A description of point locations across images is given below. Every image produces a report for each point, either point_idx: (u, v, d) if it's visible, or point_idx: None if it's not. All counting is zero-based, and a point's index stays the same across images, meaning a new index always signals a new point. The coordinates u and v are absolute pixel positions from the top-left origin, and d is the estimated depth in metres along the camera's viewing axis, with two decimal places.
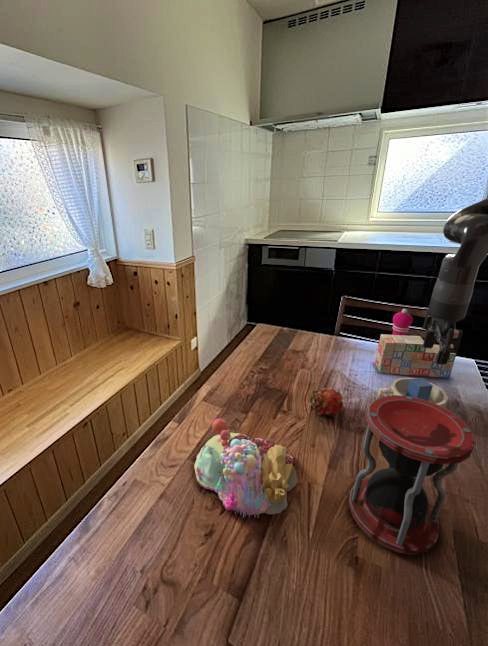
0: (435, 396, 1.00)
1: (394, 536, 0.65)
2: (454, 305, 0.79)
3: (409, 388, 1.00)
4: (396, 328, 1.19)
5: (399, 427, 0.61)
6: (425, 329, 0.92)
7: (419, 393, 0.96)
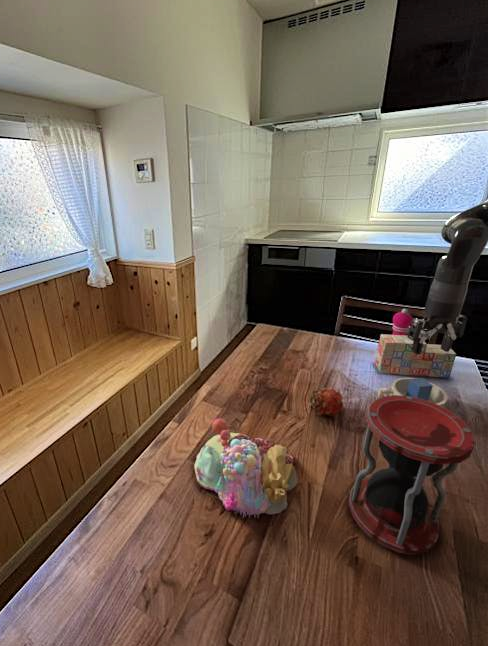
0: (435, 396, 1.00)
1: (394, 536, 0.65)
2: (430, 299, 0.87)
3: (409, 388, 1.00)
4: (396, 328, 1.19)
5: (399, 427, 0.61)
6: None
7: (419, 393, 0.96)
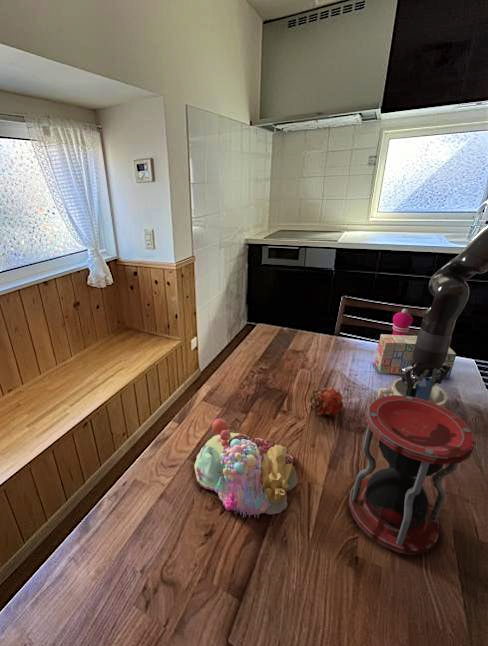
0: (435, 396, 1.00)
1: (394, 536, 0.65)
2: (417, 347, 0.93)
3: None
4: (396, 328, 1.19)
5: (399, 427, 0.61)
6: None
7: (419, 393, 0.96)
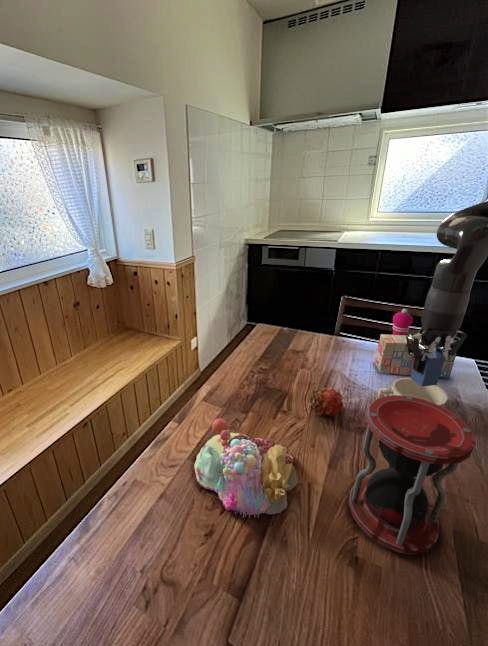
0: (435, 396, 1.00)
1: (394, 536, 0.65)
2: (427, 309, 0.76)
3: None
4: (396, 328, 1.19)
5: (399, 427, 0.61)
6: None
7: (428, 366, 0.80)
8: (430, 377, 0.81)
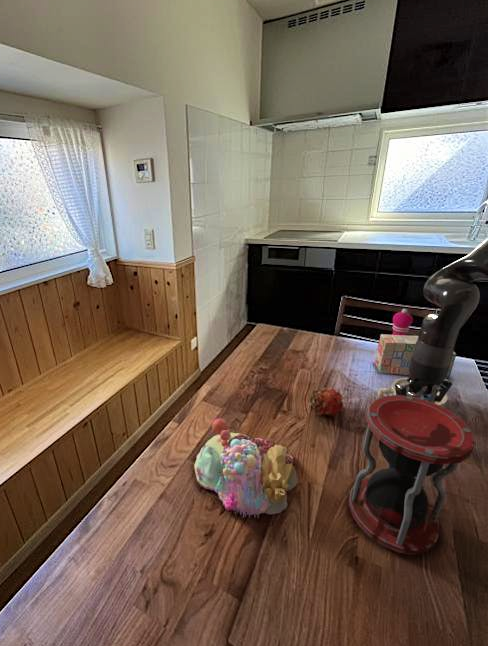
0: None
1: (394, 536, 0.65)
2: (414, 360, 0.80)
3: None
4: (396, 328, 1.19)
5: (399, 427, 0.61)
6: None
7: None
8: None
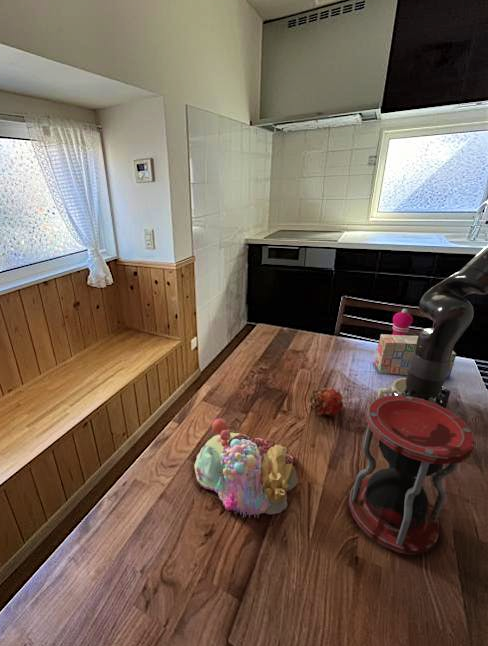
0: None
1: (394, 536, 0.65)
2: (410, 373, 0.82)
3: None
4: (396, 328, 1.19)
5: (399, 427, 0.61)
6: None
7: None
8: None
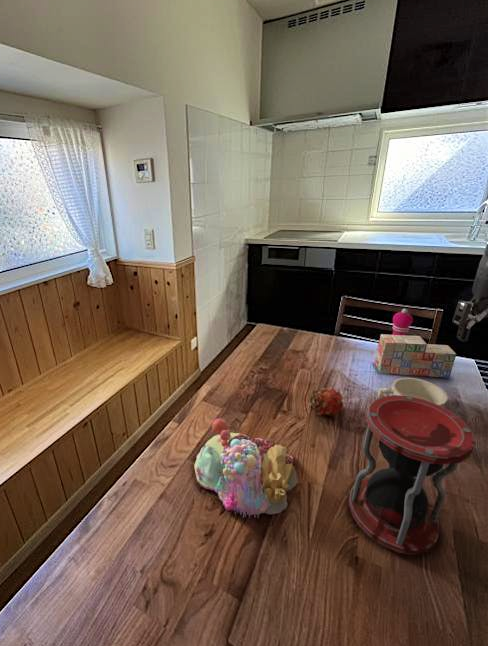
0: (435, 396, 1.00)
1: (394, 536, 0.65)
2: (479, 278, 0.77)
3: None
4: (396, 328, 1.19)
5: (399, 427, 0.61)
6: None
7: None
8: None
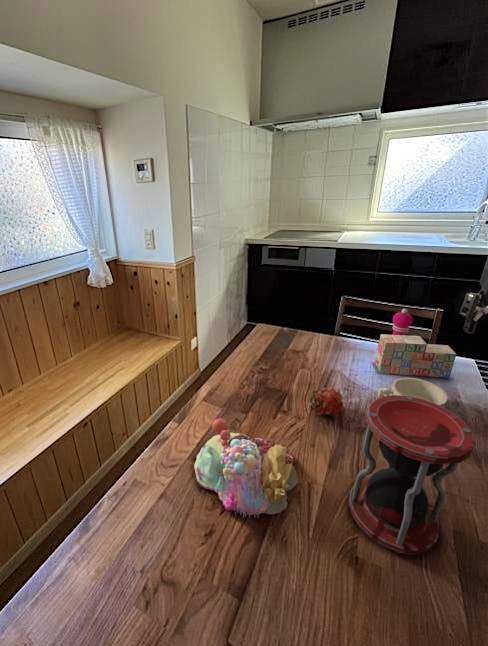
0: (435, 396, 1.00)
1: (394, 536, 0.65)
2: None
3: None
4: (396, 328, 1.19)
5: (399, 427, 0.61)
6: None
7: None
8: None
